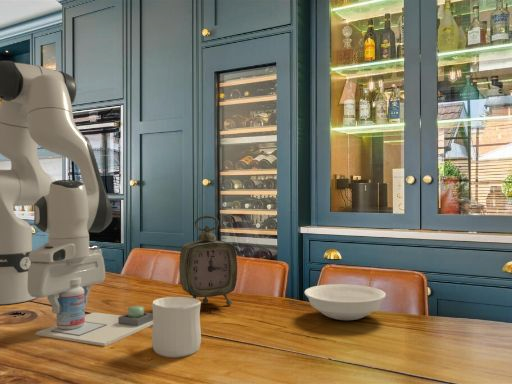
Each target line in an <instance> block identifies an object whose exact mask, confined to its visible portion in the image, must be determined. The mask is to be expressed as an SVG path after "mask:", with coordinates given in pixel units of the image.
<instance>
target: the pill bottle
mask: <svg viewBox="0 0 512 384" xmlns="http://www.w3.org/2000/svg"><path fill="white" fill-rule="evenodd" d="M80 284H81V278H77V279H73V280H70V285H71V286H72V288H71V289H70V290H69V291H66V292H62V293H59V298H57V300H58V302H59V304H63V308H62V309H63V311H62V312H60V313H57V314H56V325H57V327H58V328H59V329H75V328H79V327H82V326H83V325H84V324H85V315H86V313H85V310H86V309H85V307H86V305H85V296H84V289H83V288H82V287H80Z"/></svg>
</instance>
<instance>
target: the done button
mask: <svg viewBox="0 0 512 384" xmlns="http://www.w3.org/2000/svg"><path fill="white" fill-rule="evenodd" d="M144 308H145V307H144V306H142V305H134V306H133V305H132V306H130V307H128V309H127V310H128V312H127V314H128V317H130V318H140V317H142V316H144V312H145V309H144Z"/></svg>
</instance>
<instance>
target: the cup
mask: <svg viewBox="0 0 512 384" xmlns="http://www.w3.org/2000/svg"><path fill="white" fill-rule="evenodd" d="M201 304H202V301H200V299H197V298H196V299H195V298H193V297H190V296H189V297H187V296H166V297H161V298H160V297H159V298H156V299H154V300H153V301H152V303H151V307H152V313H153V325H152V328H151V329H152V330H151V346H152V349H153V351H154V352H155V354H156V355H157V354H158V355H160V356H162V357H165V358H166V357H167V358H183V357H187V356H191V355H193V354H195V353H197V352H198V351H199V349H200V347H201V343H202V334H201V333H202V330H201V320H200V319H201V318H200V311H201Z"/></svg>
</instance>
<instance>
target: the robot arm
mask: <svg viewBox="0 0 512 384" xmlns="http://www.w3.org/2000/svg"><path fill="white" fill-rule="evenodd" d="M76 96H77V84H76V81H75V79H74V77H73V76H72V75H70V74H69V73H66V72H64V71H59V70H56V69H52V68H49V67H45V66H41V65H38V64H36V65H35V64H34V65H33V64H28V63H20V62H15V61H12V60H0V100H1V102H0V155H2V156H3V157H5V158H7V159H9V161H10V169H0V305H10V304H17V303H18V304H19V303H24V302H27V301H33V300H34V299H37V298H38V299H43V298H47V300H48V302H49V303H50V305H51V312H52V313H53V314H56V315H57V313H60V312H62V311H63V309H62V308H63V304H59V302H58V300H57V298H59V293H62V292H66V291H69V290H70V289H71V288H72V286H71V285H70V280H73V279H77V278H81V284H80V287H82V288H83V289H84V296H85V306H86V305H87V304H88V297H89V295H90V293H91V290H92V285H96V284H100V283H103V282H104V280H105V278H106V267H105V261H104V260H105V259H104V257H103V249H101V247H100V246H98V245H95V244H94V245H92V246H90V234H89V233H101V232H102V231H104V230H105V229H107V227H109V226H110V224H111V223H112V221H113V208H112V203H111V201H110V199H109V196H108V194H107V192H106V190H105V186H104V182H103V179H102V176H101V173H100V168H99V166H98V162H97V159H96V155H95V151H94V149H93V146H92V145H91V142H90V140H89V138H88V137H87V136H86V135H84V134H82V133H81V131H80V130H79V128H78V127H77V125H76V123H75V120H74V119H75V118H74V112H73V106H72V104H73V103H74V101H75V99H76ZM38 147H41V148H43V149H44V150H46V151H49V152H51V153H54V154H57V155H60V156H63V157H64V158H66V159H69V160H70V161H72V162H73V163H74V164H75V165H76V166H77V168H78V169H79V173H80V177H81V180H82V181H80V180H72V179H60V180H59V179H58V180H54V181H53V179H52V177H51V176H50V175H49V174H48V173H47V172H46V171H45V170H44V168H43V167H42V164H41V163H40V160H39V155H38ZM20 206H21V207H22V206H23V207H24V206H25V207H26V206H27V207H28V206H33V212H34V213H33V214H34V215H33V217H34V219H33V222H34V223H33V224H34V226H35V227H36V228H37V229H38V230H40V231H41V232H42V233H48V239H47V241H48V242H46V243H44V244H43V245H41V246H39V247H37V248H36V249H34V250H33V235H32V234H33V232H32V231H33V229H32V226H31V225H30V224H29V222H28V221H26V220H24V219H22V218H20V217H18V216H17V215H16V214H15V210H14V207H20Z"/></svg>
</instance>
